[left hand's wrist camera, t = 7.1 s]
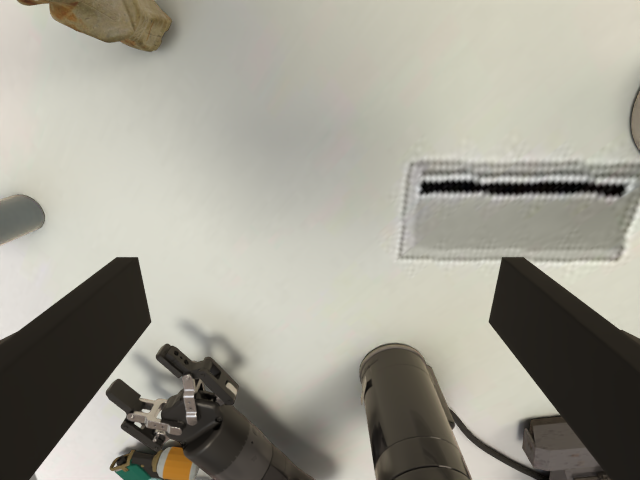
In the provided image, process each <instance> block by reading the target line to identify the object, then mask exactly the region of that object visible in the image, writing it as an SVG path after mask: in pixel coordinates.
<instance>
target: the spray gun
mask: <svg viewBox="0 0 640 480" xmlns="http://www.w3.org/2000/svg"><path fill="white" fill-rule="evenodd" d="M116 462H117V466H116V467H114V465H115V463H116ZM113 467H114V468H113ZM110 470H111V471H114V470H115V472H116V473H117V474H118V475H119V476H120V477H121V478H122V479H124V480H193V479H195V477H196V475H197V473H198V470H199V467H198V466H197V465H195V464H194V463H193V462H191V461H190V460H189V459H188V458H186V457H185V455H184V453H183V448H181V447H168V448H166V449H165V450H164V451H163V450H160V451H158V453H157V454H156V455H155V456H154V455H152V454H147V453H142V452H137V451H135V450H132V451H131V452H130V453H129V454H126V455H123V456H120V457H118V458H116V459H115V460H114V461H113V462H112V464H111V466H110Z"/></svg>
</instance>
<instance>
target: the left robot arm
mask: <svg viewBox="0 0 640 480" xmlns="http://www.w3.org/2000/svg"><path fill="white" fill-rule="evenodd" d="M150 323H151V318H150V313H149V309H148V304H147V299H146V294H145V289H144V285H143V280H142V275H141V270H140V265H139V260H138V257H116V258H115V259H114V260H112V261H111V262H110V263H108V264H107V265H106V266H104V267H103V268H102V269H100V270H99V271H98V272H96V273H95V274H94V275H92V276H91V277H90V278H88V279H87V280H86V281H84V282H83V283H82V284H80V285H79V286H78V287H76V288H75V289H74V290H72V291H71V292H70V293H69V294H67V295H66V296H65V297H63V298H62V299H61V300H59V301H58V302H57V303H55V304H54V305H53V306H51V307H50V308H49V309H47V310H46V311H45V312H43V313H42V314H41V315H39V316H38V317H37V318H35V319H34V320H33V321H31V322H30V323H29V324H27V325H26V326H25V327H23V328H22V329H21V330H19V331H18V332H16V333H14V334H12V335H10V336H8V337H6V338H4V339H2V340H0V480H29V479H30V478H31V477H32V475H33V474H34V473H35V472H36V470H37V469H38V468H39V466H40V465H41V464H42V463H43V461H44V460H45V459H46V457H47V456H48V455H49V453H50V452H51V451H52V450H53V448H54V447H55V446H56V444H57V443H58V442H59V441H60V439H61V438H62V437H63V435H64V434H65V433H66V432H67V430H68V429H69V428H70V426H71V425H72V424H73V423H74V421H75V420H76V419H77V417H78V416H79V415H80V413H81V412H82V411H83V410H84V408H85V407H86V406H87V404H88V403H89V402H90V401H91V399H92V398H93V397H94V395H95V394H96V393H97V392H98V390H99V389H100V388H101V386H102V385H103V384H104V382H105V381H106V380H107V379H108V377H109V376H110V375H111V373H112V372H113V371H114V370H115V368H116V367H117V366H118V364H119V363H120V362H121V361H122V359H123V358H124V357H125V355H126V354H127V353H128V352H129V350H130V349H131V348H132V346H133V345H134V344H135V342H136V341H137V340H138V339H139V337H140V336H141V335H142V333H143V332H144V331H145V330H146V328H147V327H148V326H149V324H150ZM489 323H490V324H491V326H492V327H493V328H494V330H495V331H496V332H497V333H498V335H499V336H500V337H501V339H502V340H503V341H504V342H505V344H506V345H507V346H508V348H509V349H510V350H511V352H512V353H513V354H514V355H515V357H516V358H517V359H518V361H519V362H520V363H521V364H522V366H523V367H524V368H525V370H526V371H527V372H528V373H529V375H530V376H531V377H532V379H533V380H534V381H535V382H536V384H537V385H538V386H539V388H540V389H541V390H542V392H543V393H544V394H545V395H546V397H547V398H548V399H549V401H550V402H551V403H552V404H553V406H554V407H555V408H556V410H557V411H558V412H559V413H560V415H561V416H562V417H563V419H564V420H565V421H566V423H567V424H568V425H569V426H570V428H571V429H572V430H573V432H574V433H575V434H576V435H577V437H578V438H579V439H580V441H581V442H582V443H583V444H584V446H585V447H586V448H587V450H588V451H589V452H590V453H591V455H592V456H593V457H594V459H595V460H596V461H597V463H598V464H599V465H600V466H601V468H602V469H603V470H604V472H605V473H606V474H607V475H608V477H609V478H610V479H611V480H640V339H639V338H637V337H635V336H633V335H631V334H629V333H627V332H625V331H623V330H619V329H618V328H617V327H615V326H614V325H613V324H611V323H610V322H609V321H607V320H606V319H605V318H603V317H602V316H601V315H599V314H598V313H597V312H595V311H594V310H593V309H591V308H590V307H589V306H587V305H586V304H585V303H583V302H582V301H581V300H579V299H578V298H577V297H575V296H574V295H573V294H571V293H570V292H569V291H568V290H566V289H565V288H564V287H562V286H561V285H560V284H558V283H557V282H556V281H554V280H553V279H552V278H550V277H549V276H548V275H546V274H545V273H544V272H542V271H541V270H540V269H538V268H537V267H536V266H534V265H533V264H532V263H530V262H529V261H528V260H526V259H525V258H524V257H502V260H501V265H500V270H499V275H498V280H497V285H496V289H495V294H494V299H493V304H492V309H491V313H490V318H489Z"/></svg>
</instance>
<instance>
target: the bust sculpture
mask: <svg viewBox="0 0 640 480" xmlns="http://www.w3.org/2000/svg"><path fill="white" fill-rule="evenodd" d="M631 126H632V134H633V138H634V141H635V143H636V145H637V147H638V149H639V150H640V92H639V94H638V96H637V98H636V101H635V104H634V108H633V112H632V121H631Z"/></svg>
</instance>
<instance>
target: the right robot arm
mask: <svg viewBox="0 0 640 480" xmlns="http://www.w3.org/2000/svg"><path fill="white" fill-rule="evenodd" d="M156 359H157V360H158V361H159V362H160V363H161V364H162V365H164V366H165V367H166V368H167V369H168V370H169V371H171V372H172V373H173V374H174V375H175V376H176V377H178V378H180V377H181V376H183V377H182V381H183V387H184V389H182V390H181V391H180V392H179V393H178V394H177V395H174V396H172V397H170V398H169V399H168V400H166V399H157V400H155V401H153V400H148V399H143V398H140V396H141V395H139V394H138V393H137V392H136V391H134V390H133V389H132V388H131V387H129V386H128V385H127V384H126V383H124V382H123V381H122V380H121V379H117V380H115V381H114V382H113V383H112V384H111V385H110V387H109V388H108V389H107V391H106V395H107V397H108V398H109V400H111V401H112V402H114V403H115V404H116V405H117V406H118V407H120V408H121V409H122V410H124V411H125V412H126V414H127V416H126V418H125V420H124V422H123V423H122V425H121V428H122V429H123V430H124V431H126V432H127V433H129V434H130V435H131V436H133V437H134V438H136V439H137V440H139V441H140V442H142V443H143V444H145V445H146V446H148V447H149V448H151V449H152V450H154V451H160V450H161V448H162V446H163V445H164V443H165V442H166V441H168V440H169V439H172V440H176V441H178V442H180V443H181V445H182V448H183V453H184V455H185V457H186V458H188V459H189V460H190V461H191V462H193V463H194V464H195V465H197V466H198V467H199V468H201V469H202V470H203V471H204V472H206V473H207V474H208V475H210V476H211V477H212V478H213V479H215V480H315V479H314V478H312V477H311V476H309V475H308V474H307V473H305V472H304V471H302V470H301V469H299V468H298V467H297V466H296V465H295V464H293V463H292V462H291V461H290V460H289V459H288V458H287V456H286V455H285V454H284V453H283V452H281V451H280V450H279V449H278V448H277V447H276V446H274V445H273V444H272V443H271V442H270V441H269V440H268V439H267V438H266V437H265V435H264V434H263V433H262V432H261V431H260V430H259V429H258V428H257V427H256V426H255V425H254V424H253V423H252V422H250V421H249V420H248V419H247V418H246V417H245V416H244V415H242V414H241V413H240V412H239V411H238V410H237V409H236V408H235V407H233V406H232V405H233V404H234V401H235V398H236V394H237V391H238V384H237V383H236V382H235V381H234V380H233V379H232V378H231V377H230V376H229V375H228V374H227V373H226V372H225V371H224V370H223V369H222V368H221V367H220V366H219V365H218V364H217V363H216V362H215V361H214V360H213V359H212V358H211V357H206V358H204V360H203V361H200V362H196V361H191V360H190V359H189V358H188V357H187V356H185V355H184V354H183V353H182V352H181V351H180V350H179V349H178V348H176V347H174V346H170V345H169V344H165V345H164V346H162V347H161V348H160V350H159V352H158V353H157V355H156ZM360 381H361V384H362V394H361V404H362V403H363V398H364V404H365V410H366V417H367V423H368V430H369V437H370V443H371V450H372V456H373V463H374V470H375V476H376V480H472V478H471V475H470V473H469V470H468V468H467V465H466V463H465V461H464V458H463V456H462V453H461V451H460V449H459V446H458V444H457V441H456V439H455V436H454V434H453V431H452V429H453V428H454V426H455V423H456V424H457V426H458V427H459V428H460V430H461V431H462V432H463V433H464V434H465V436H466V437H467V438H468V439H469V440H470V441H472V442H473V443H474V444H475V445H476V446H478V447H479V448H480V449H482V450H483V451H485V452H486V453H488V454H490V455H491V456H493V457H495V458H496V459H498V460H500V461H502V462H503V463H505V464H507V465H509V466H511V467H512V468H514V469H516V470H518V471H520V472H522V473H524V474H526V475H529V476H531V477H533V478H535V479H537V480H549V479H547V478H545V477H543V476H541V475H539V474H537V473H535V472H533V471H531V470H529V469H527V468H525V467H523V466H521V465H519V464H517V463H515V462H513V461H511V460H509V459H508V458H506V457H504V456H502V455H501V454H499V453H497V452H496V451H494V450H492V449H491V448H489V447H487V446H486V445H484V444H483V443H482V442H480V441H479V440H478V439H476V438H475V437H474V436H473V435H472V434H471V433H470V432H469V431H468V429H467V428H466V427H465V426H464V424H463V423H462V422H461V420H460V419H459V418H458V416H457V415H456V414H455V413H454V412H453V411H451V410H449V408H448V406H447V403H446V401H445V399H444V396H443V394H442V391H441V389H440V387H439V384H438V382H437V380H436V377H435V375H434V373H433V370H432V368H431V367H430V366H428V365H426V362H425V360H424V358H423V356H422V355H421V354H420V353H419V352H418V351H417V350H415V349H413V348H411V347H409V346H406V345H401V344H390V345H385V346H382V347H379V348H377V349H375V350H373V351H372V352H370V353H369V354H368V355H367V356H366V357H365V359H364V360H363V362H362V364H361V366H360ZM204 383H205V384H206V385H207V386H208V387H209V388H210V389H211V390H212V391H213V392H214V393H211V392H207V391H205V387H204ZM142 409H147V410H151V411H150V412H149V413H143V412H142ZM161 410H162V411H161ZM160 411H161V418H162V419H157V418H156V417H157V415H158V413H159V412H160ZM134 422H139V423H141V424H142V427H141V428H139V427H138V426H136V425H135V424H134ZM454 422H455V423H454Z"/></svg>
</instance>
